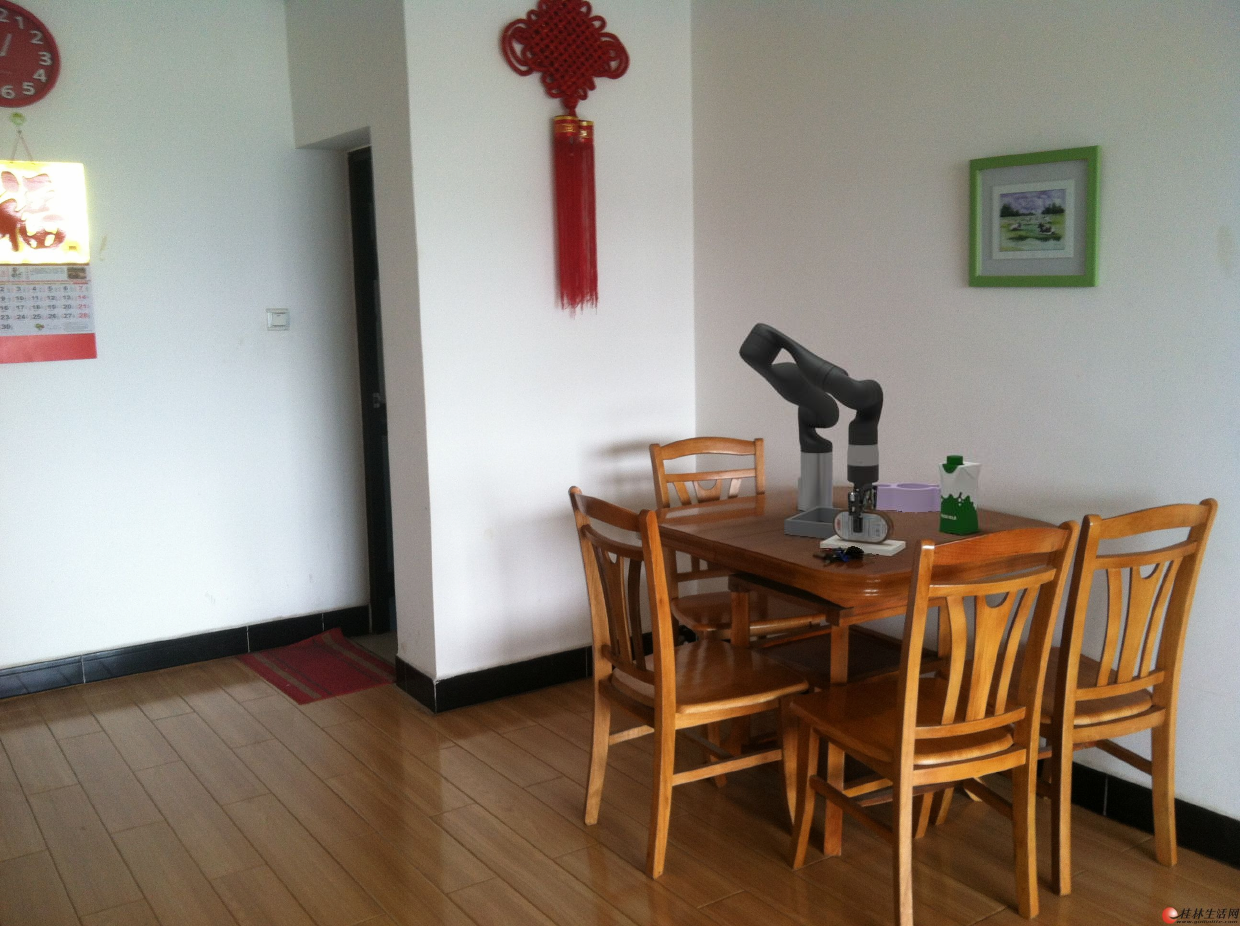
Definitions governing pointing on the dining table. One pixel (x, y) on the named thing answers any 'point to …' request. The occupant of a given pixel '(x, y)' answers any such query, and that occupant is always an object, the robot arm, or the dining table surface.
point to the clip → (909, 497)
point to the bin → (812, 523)
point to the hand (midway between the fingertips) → (862, 529)
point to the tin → (864, 526)
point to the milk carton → (959, 495)
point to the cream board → (865, 546)
